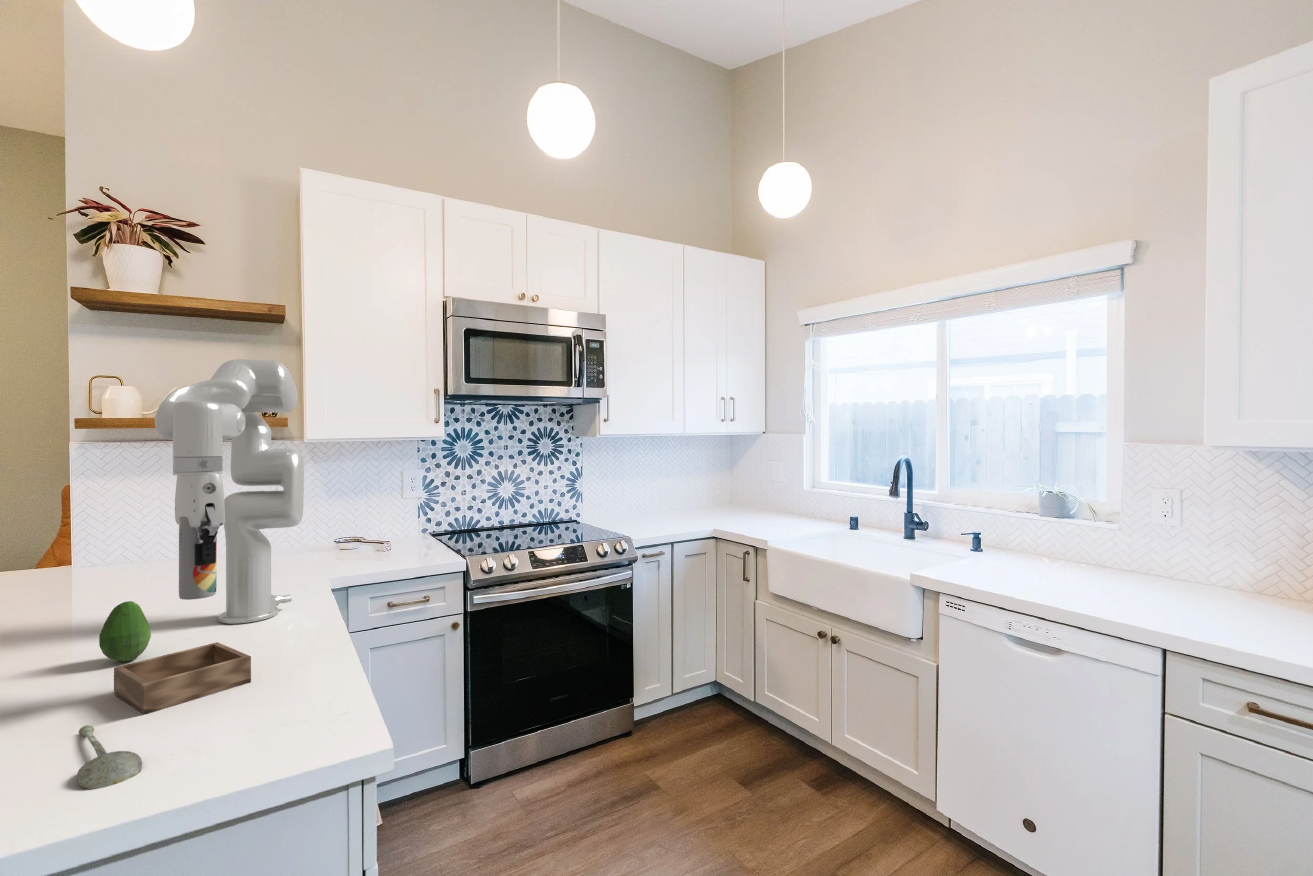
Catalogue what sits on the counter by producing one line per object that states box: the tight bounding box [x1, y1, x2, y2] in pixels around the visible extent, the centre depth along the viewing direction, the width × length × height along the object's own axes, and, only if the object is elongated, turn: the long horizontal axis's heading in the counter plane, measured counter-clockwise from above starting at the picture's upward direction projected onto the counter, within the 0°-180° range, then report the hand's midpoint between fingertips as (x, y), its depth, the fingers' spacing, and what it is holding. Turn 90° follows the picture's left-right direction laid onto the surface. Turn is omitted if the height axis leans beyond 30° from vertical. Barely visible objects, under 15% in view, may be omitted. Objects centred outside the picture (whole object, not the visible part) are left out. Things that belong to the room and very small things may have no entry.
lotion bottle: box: [178, 517, 218, 601], centre depth 116 cm, size 6×6×20 cm
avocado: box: [98, 600, 152, 662], centre depth 125 cm, size 8×8×12 cm
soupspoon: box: [76, 724, 143, 791], centre depth 88 cm, size 22×3×7 cm
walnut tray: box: [113, 641, 252, 715], centre depth 112 cm, size 16×14×5 cm
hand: (197, 561), depth 116 cm, fingers closed on lotion bottle, 5 cm apart
